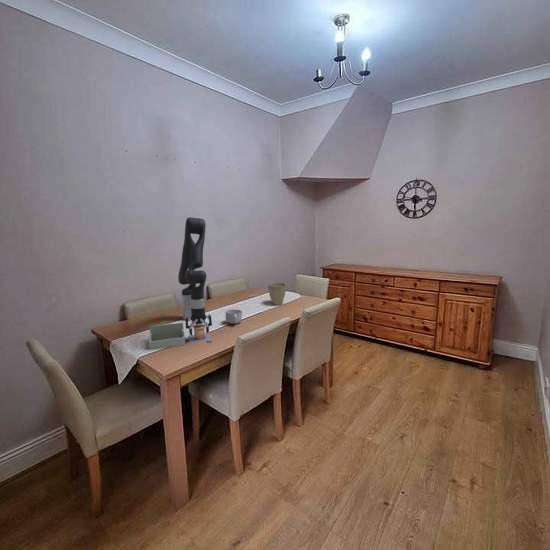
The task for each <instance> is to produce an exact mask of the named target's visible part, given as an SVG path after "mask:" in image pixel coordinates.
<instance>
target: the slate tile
mask: <svg viewBox="0 0 550 550" xmlns="http://www.w3.org/2000/svg"><path fill="white" fill-rule="evenodd" d="M187 339H188V343H189V344H196V343H197V344H198V343H203V342H206V343H207V344H208V343H213V341H212V337H211V335H210V333H209V332H208V333H206V332H205V338H204V339H202V340H196V339H195V336H194V334H192V335H190V334H189V335H187Z"/></svg>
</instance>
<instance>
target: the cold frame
mask: <svg viewBox="0 0 550 550" xmlns="http://www.w3.org/2000/svg"><path fill="white" fill-rule="evenodd" d="M185 338H186V337H185V332H184V322H175V323H165V324H156V325H149V338H148V339H149V340H148V344H149V350H157V349H164V348H171V347H178V346H184V345H186V339H185Z"/></svg>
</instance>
